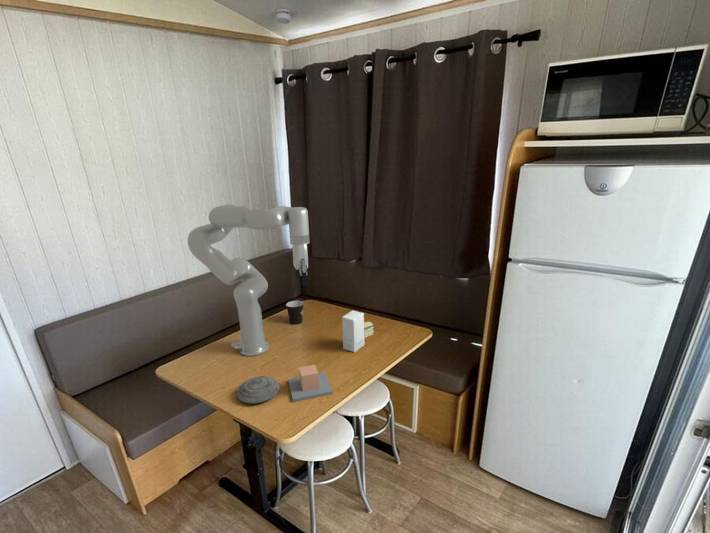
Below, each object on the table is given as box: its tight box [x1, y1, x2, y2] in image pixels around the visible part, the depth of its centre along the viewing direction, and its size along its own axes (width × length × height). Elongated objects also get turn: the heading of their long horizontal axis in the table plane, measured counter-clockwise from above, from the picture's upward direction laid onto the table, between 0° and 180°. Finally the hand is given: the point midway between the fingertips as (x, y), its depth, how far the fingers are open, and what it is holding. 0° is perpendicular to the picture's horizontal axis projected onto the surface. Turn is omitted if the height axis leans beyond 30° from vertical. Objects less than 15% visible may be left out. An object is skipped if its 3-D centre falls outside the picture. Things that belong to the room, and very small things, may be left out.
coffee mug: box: [285, 300, 304, 326], centre depth 191 cm, size 12×9×10 cm
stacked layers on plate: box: [364, 321, 375, 339], centre depth 175 cm, size 10×9×6 cm
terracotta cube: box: [298, 364, 319, 391], centre depth 135 cm, size 6×6×6 cm
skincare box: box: [341, 310, 366, 353], centre depth 162 cm, size 8×7×16 cm
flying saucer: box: [236, 375, 281, 404], centre depth 133 cm, size 15×15×6 cm
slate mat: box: [287, 371, 333, 403], centre depth 136 cm, size 14×13×1 cm
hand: (302, 281), depth 150 cm, fingers open, 9 cm apart
